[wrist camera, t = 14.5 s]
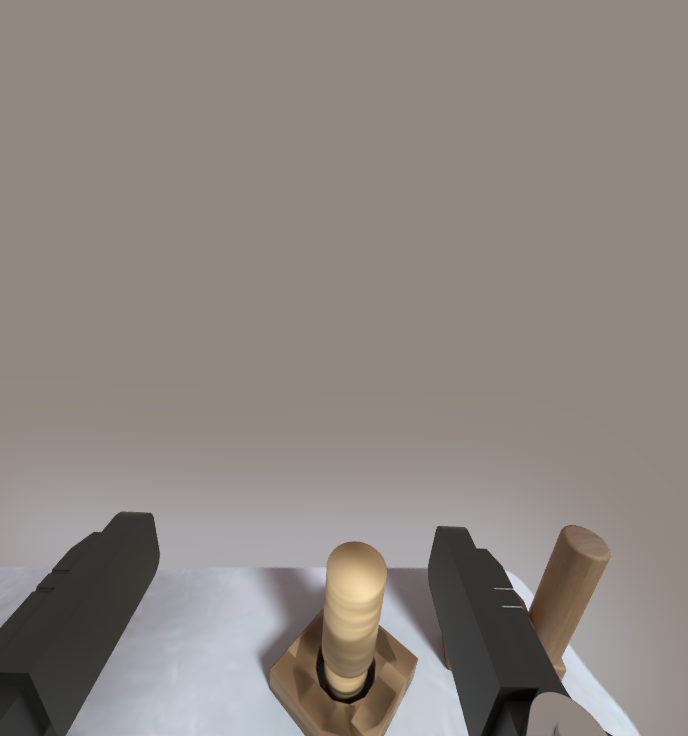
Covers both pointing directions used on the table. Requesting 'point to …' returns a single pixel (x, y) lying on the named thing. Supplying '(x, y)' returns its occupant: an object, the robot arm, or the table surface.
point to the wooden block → (565, 590)
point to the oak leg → (351, 618)
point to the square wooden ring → (331, 718)
